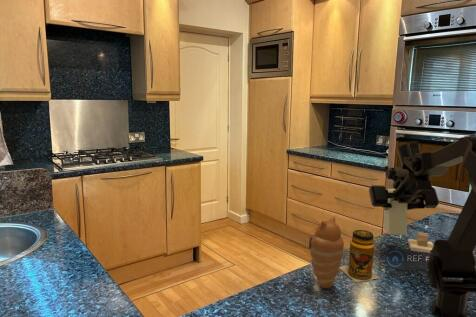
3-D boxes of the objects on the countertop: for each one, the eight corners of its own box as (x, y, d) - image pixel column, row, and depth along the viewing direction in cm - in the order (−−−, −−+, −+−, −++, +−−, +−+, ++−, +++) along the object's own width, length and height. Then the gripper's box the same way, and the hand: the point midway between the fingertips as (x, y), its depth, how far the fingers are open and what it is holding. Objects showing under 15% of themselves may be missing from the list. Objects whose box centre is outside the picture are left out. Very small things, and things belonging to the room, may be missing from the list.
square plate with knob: (435, 253, 109) (437, 240, 109) (411, 250, 112) (412, 236, 111) (431, 244, 116) (433, 231, 115) (407, 241, 118) (409, 228, 117)
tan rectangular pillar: (406, 234, 109) (407, 193, 106) (389, 234, 109) (389, 193, 107) (400, 228, 114) (401, 188, 112) (383, 228, 114) (384, 189, 112)
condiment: (356, 282, 92) (359, 239, 90) (337, 267, 100) (340, 227, 98) (379, 278, 94) (383, 236, 92) (359, 264, 102) (363, 224, 100)
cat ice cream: (321, 275, 95) (325, 211, 92) (347, 287, 90) (353, 219, 86) (301, 286, 90) (304, 218, 86) (327, 300, 84) (332, 228, 81)
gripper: (438, 160, 103) (417, 187, 116) (373, 159, 104) (359, 186, 116) (450, 194, 97) (426, 218, 110) (381, 192, 97) (365, 217, 110)
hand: (393, 209), depth 112 cm, fingers closed on tan rectangular pillar, 5 cm apart
